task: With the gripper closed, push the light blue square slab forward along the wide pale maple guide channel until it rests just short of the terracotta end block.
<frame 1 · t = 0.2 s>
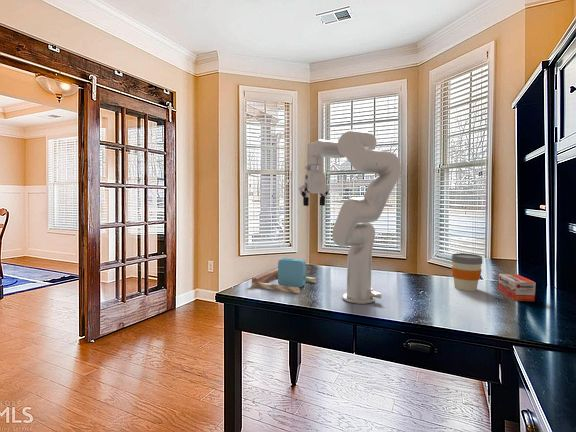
hand: (314, 205, 169), 36 cm above the table, tool pointing down, fingers open, 9 cm apart
guide channel: (284, 284, 166), on the table
reusable coffee cup: (465, 288, 162), on the table
medicine box: (515, 296, 152), on the table
light blue square slab: (291, 285, 165), on the table
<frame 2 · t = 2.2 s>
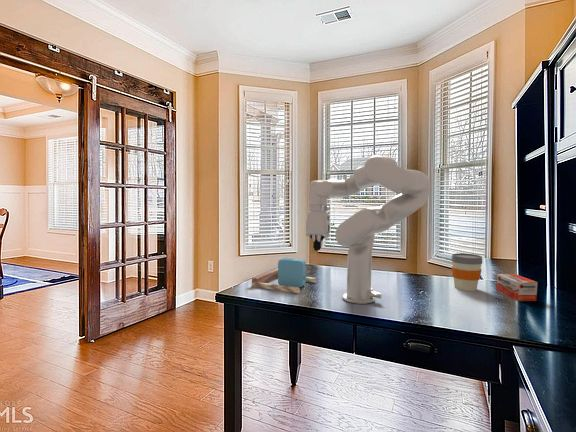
hand: (317, 250, 158), 17 cm above the table, tool pointing down, fingers closed
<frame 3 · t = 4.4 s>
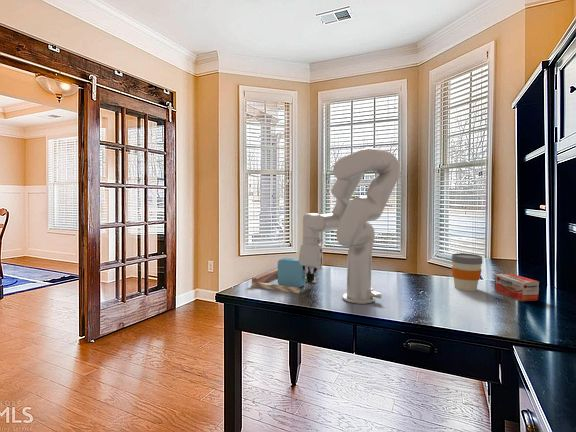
hand: (310, 281, 161), 3 cm above the table, tool pointing down, fingers closed
light blue square slab: (291, 285, 165), on the table, touching gripper
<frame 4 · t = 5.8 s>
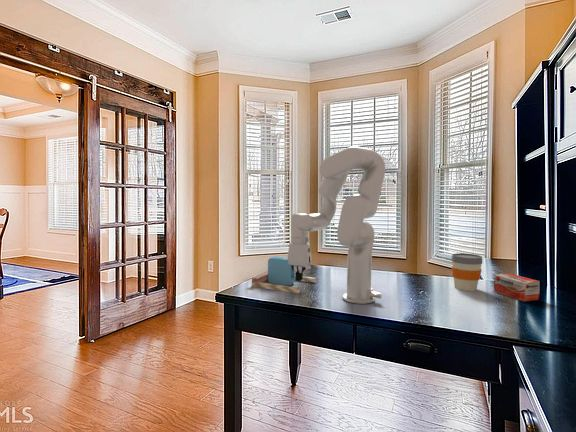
hand: (298, 280, 163), 3 cm above the table, tool pointing down, fingers closed
light blue square slab: (281, 284, 168), on the table, touching gripper
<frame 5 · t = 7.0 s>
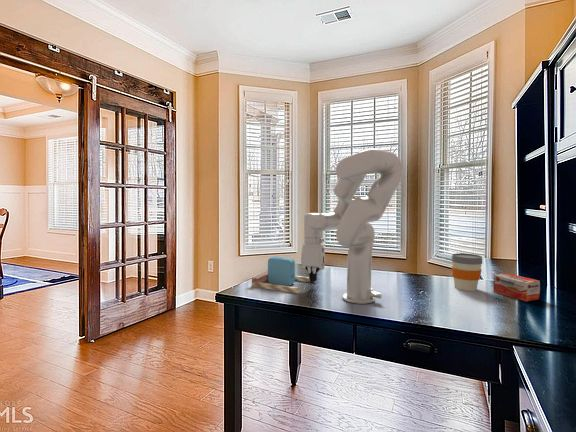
hand: (312, 281, 160), 3 cm above the table, tool pointing down, fingers closed
light blue square slab: (281, 284, 168), on the table
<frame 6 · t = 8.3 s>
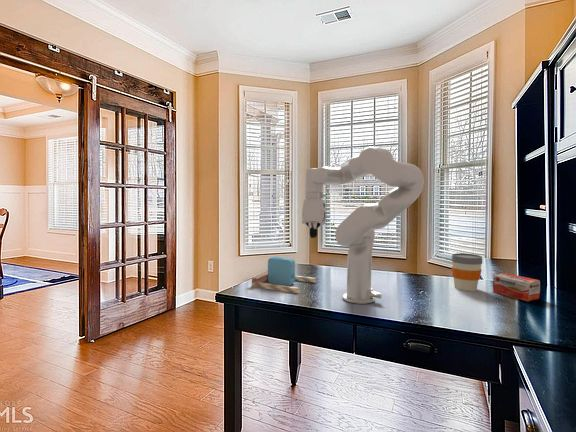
hand: (313, 237, 160), 23 cm above the table, tool pointing down, fingers closed
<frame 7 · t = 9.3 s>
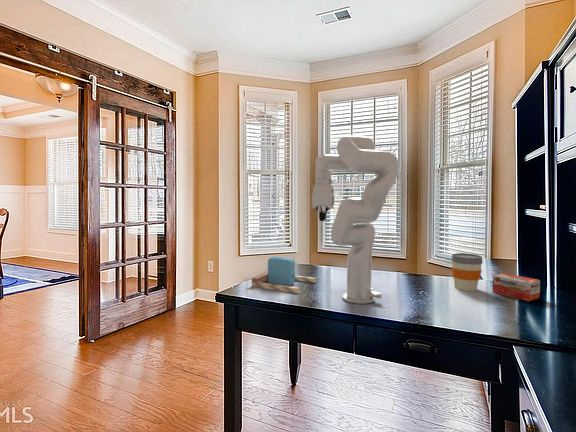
hand: (322, 220, 172), 29 cm above the table, tool pointing down, fingers closed
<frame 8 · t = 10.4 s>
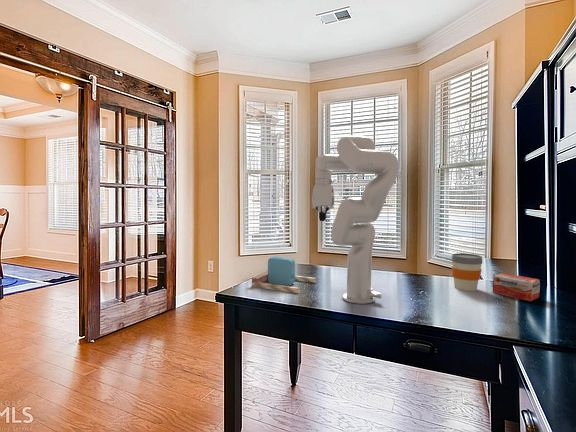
hand: (322, 220, 172), 29 cm above the table, tool pointing down, fingers closed
at the end: light blue square slab inside the target area (0.5 cm from its centre), on the table; light blue square slab tilted 0°; light blue square slab moved 5.7 cm from its start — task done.
